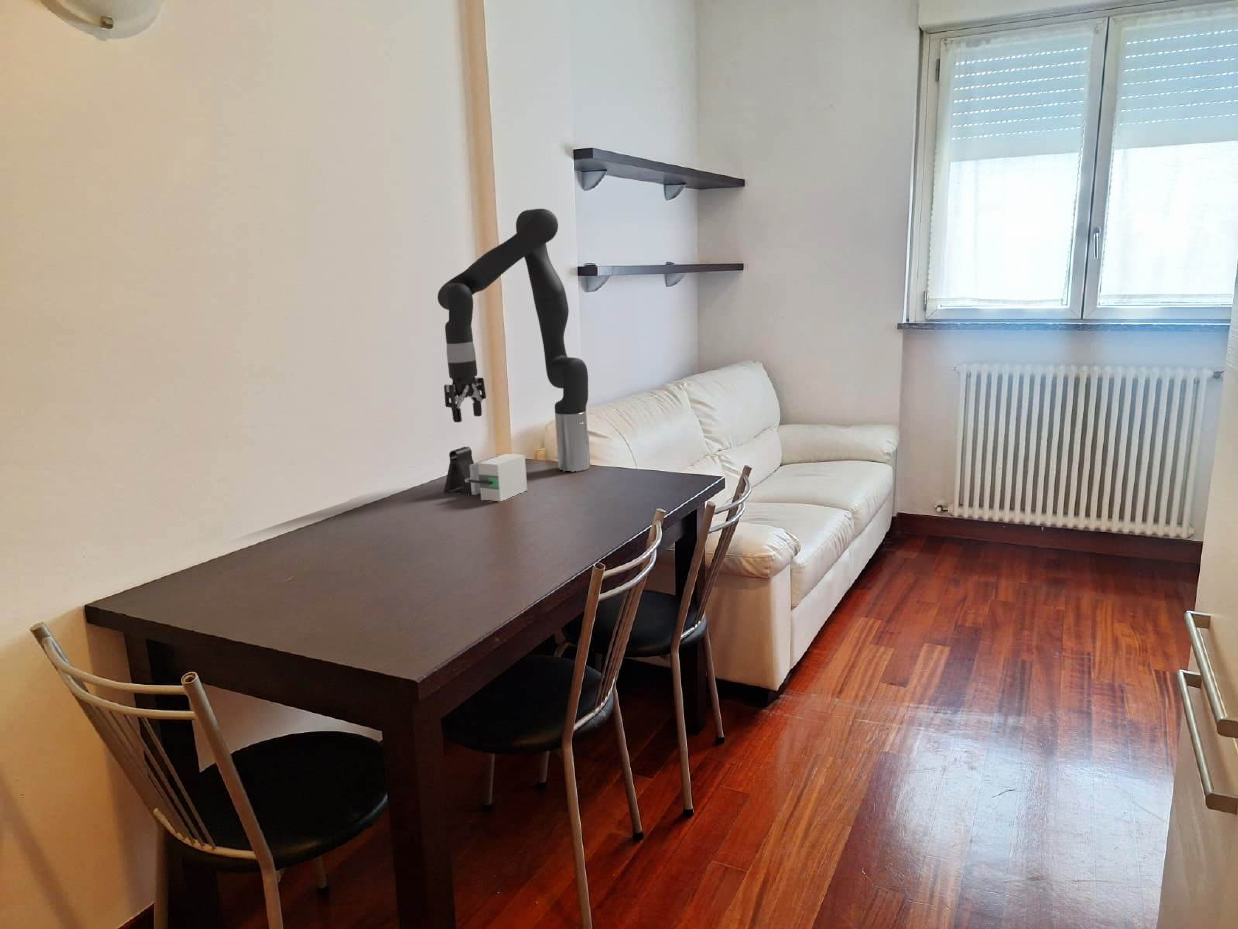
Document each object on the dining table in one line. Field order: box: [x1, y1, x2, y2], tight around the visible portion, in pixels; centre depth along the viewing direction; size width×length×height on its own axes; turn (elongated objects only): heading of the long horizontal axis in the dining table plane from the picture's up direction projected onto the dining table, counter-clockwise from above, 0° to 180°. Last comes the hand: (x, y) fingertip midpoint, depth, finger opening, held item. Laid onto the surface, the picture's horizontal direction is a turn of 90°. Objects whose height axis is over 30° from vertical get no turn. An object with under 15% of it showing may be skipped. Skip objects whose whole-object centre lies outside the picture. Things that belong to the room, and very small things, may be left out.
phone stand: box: [443, 446, 475, 496], centre depth 230 cm, size 9×6×12 cm, turn 61°
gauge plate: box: [465, 456, 496, 496], centre depth 224 cm, size 12×8×8 cm
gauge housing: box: [478, 453, 528, 502], centre depth 223 cm, size 12×6×10 cm, turn 151°
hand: (468, 419), depth 229 cm, fingers open, 8 cm apart
